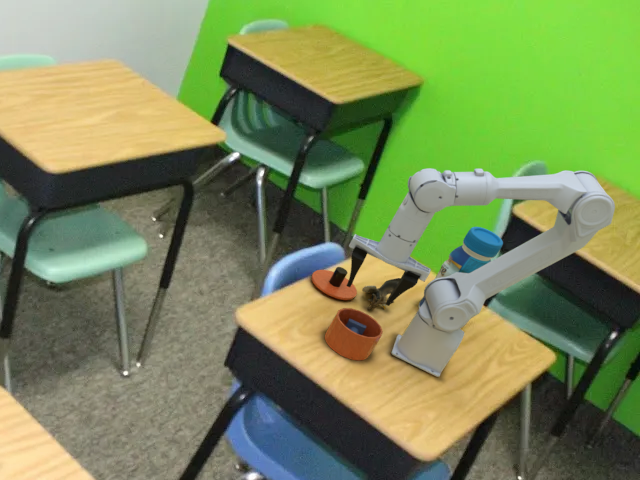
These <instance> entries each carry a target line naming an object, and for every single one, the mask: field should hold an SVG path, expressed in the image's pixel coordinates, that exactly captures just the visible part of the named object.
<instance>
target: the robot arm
mask: <svg viewBox="0 0 640 480" xmlns="http://www.w3.org/2000/svg"><path fill="white" fill-rule="evenodd" d="M407 189H408V191H407V193H406V195H405V196H404V198H403V199H402V202H401V204H400V205H399V207H398V208H397V210H396V212H395V214H394V216H393V217H392V219H391V220H390V222H389V224H388V227H387V228H386V230H385V232H384V233H383V235H382V237H381V238H380V240H379V241H377V240H373V239H370V238H367V237H363V236H360V235H358V234H356V233H355V234H354V235H353V237H352V239H351V240H350V243H349V244H348V247H349V248H350V249H352V252H351V258H350V259H351V262H350V263H351V264H350V274H349V278H348V280H349V281H348V283H347V286H348V287H351V285H352V284H354V283H353V282H354V280H355V278H356V276H357V274H358V273H359V271H360V269H361V267H362V266H363V264H364V262H365V259H366V258H367V256H368V255H369V256H372V257H374V258H375V259H378V260H380V261H382V262H384V263H385V264H388V265H389V266H390V265H391V266H393V267H395V268H397V269H399V270H402V271H404V272H403V273H402V276H401V277H400V278H401V279H400V281H399V282H398V284H397V286H396V287H395V289H394V290H393V291H392V293H391V294H389V296H388V298H386V301H385V302H386V306H388V307H390V306H391V305H392V304H393V303H392V302H393V301H394V302H395V300H396V299H398V298H399V297H400V296H401V295H402V294H403V293H405V292H407V291H409V290H410V289H412V288H414V287H415V286H416V285H417V284H418V283H419V281H422V282H426V280H427V279H428V277H429V275H430V274H431V271H432V270H431V268H429V267H428V266H426V265H424V264H422V263H421V262H419V261H417V260H416V259H415V258H413V257H411V255H412V253H413V251H414V250H415V248H416V246H417V244H418V243H419V241H420V239H421V238H422V236H423V234H424V233H425V231H426V229H427V228H428V226H429V224H430V223H431V221H432V219H433V217H434V215H435V214H436V213H438V212H440V211H442V210H444V209H445V208H447V207H456V206H457V207H462V206H463V207H464V206H465V207H466V206H467V207H468V206H469V207H472V206H479V207H480V206H488V205H490V204H491V203H492V202H493V201H495V200H496V199H498V200H499V199H500V200H501V199H502V200H523V201H524V200H526V201H545V202H547V203H549V204H550V205H551V206H552V207H554V208H556V209H557V213H556V218H555V221H554V225H553V226H552V227H551V228H549V229H547V230H546V231H544V232H542V233H540V234H538V235H537V236H535V237H532V238H530V239H528V240H527V241H525V242H524V243H522V244H520V245H518V246H517V247H515V248H512V249H510V250H508V251H507V252H505V253H504V254H502V255H500V256H498V257H497V258H495V259H494V258H493V260H491V262H489V263H487V264H485V265H484V266H482V267H480V268H478V269H476V270H475V271H473V272H471V273H461V272H456V273H454V274H452V275H450V276H447V277H441V278H437V279H435V278H433V279H432V280H431V281H430V282H428V283H427V284H426V285H425V287H424V289H423V296H424V297H425V301H424V303H423V304H422V306H421V307H420V308H419V307H418V309H417V311H416V312H415V314H414V316H413V318H412V319H411V321H410V322H409V324H408V325H407V327H406V329H405V331H404V332H403V334H397V335H396V338H395V341H394V343H393V347H392V350H391V355H392V356H394V357H396V358H397V359H400V360H402V361H404V362H406V363H408V364H409V365H412V366H414V367H416V368H418V369H420V370H422V371H424V372H426V373H428V374H430V375H432V376H434V377H436V378H440V376H441V374H442V372H443V370H444V369H445V367H446V366H447V365H448V364H449V362H450V360H451V359H452V357H453V356H454V355H455V353H456V351H457V350H458V348H459V346H460V345H461V343H462V341H463V339H464V336H465V331H464V330H463V329H462V328H464V327H465V326H466V325H467V324H468V322H469V321H470V320H471V319H472V318H474V317H477V315H479V314H480V313H481V311H482V309H483V306H484V305H485V302H486V300H488V299H489V298H492V297H493V296H495V295H497V294H499V293H500V292H502V291H504V290H507V289H508V288H510V287H512V286H514V285H516V284H517V283H519V282H522V281H524V280H525V279H527V278H529V277H531V276H532V275H534V274H536V273H538V272H540V271H542V270H544V269H545V268H547V267H550V266H552V265H553V264H555V263H557V262H559V261H561V260H562V259H564V258H566V257H568V256H571V255H572V254H574V253H576V252H577V251H580V250H582V249H583V248H584V247H585V246H587V245H588V243H590V242H591V240H592V239H593V238H594V236H596V234H597V233H598V232H599V231H601V230H602V229H604V228H606V227H609V226H610V225H611V224H612V222H613V218H614V214H615V210H616V205H615V201H614V200H613V198H612V197H611V195H609V194H608V193H607V192H606V190H605V189H604V188H603V187H602V186H601V184H600V183H599V181H598V179H597V177H596V175H594V174H593V173H592V172H590V171H587V170H575V171H573V170H568V169H567V170H566V169H565V170H562V171H559V172H557V173H552V174H551V173H550V174H536V175H535V174H534V175H523V176H522V175H521V176H507V177H495V176H494V175H493V174H492V173H491V172H490V171H484V169H483V168H474V169H473V171H451V170H450V169H445V170H443V172H441V171H440V170H437V169H436V168H432V167H431V168H430V167H429V168H423V169H421V170H417V172H415V173H414V174H413V175H410V176H409V178H408V180H407ZM391 303H392V304H391Z"/></svg>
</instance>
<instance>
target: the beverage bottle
mask: <svg viewBox="0 0 640 480" xmlns="http://www.w3.org/2000/svg"><path fill="white" fill-rule="evenodd" d="M503 245H504V241H503V240H502V238H501V237H500V236H499V235H498V234H496V233H495V232H493V231H491V230H489V229H487V228H486V227H485V228H484V227H481V226H472V227H471V228H470V229H469V230H468V231H467V233H466V235H465V236H464V238H463V240H462V245H458V247H456V248H454V249H453V250H451V251H450V253H449V255H448V259H446V260H445V261H443V263H442V264H441V265H440V269H439V271H438V272H437V273H436V276H434V279H437V278H441V277H447V276H450V275H452V274H454V273H456V272H461V273H471V272H473V271H475V270H476V269H478V268H480V267H482V266H484V265H485V264H487V263H489V262H491V261H492V260H491V259H494V258H495V257H496V256H497V255H498V253H499V252H500V251H501V249H502V247H503ZM424 301H425V297H424V295H423V297H422V298H421V299H420V301H419V302H418V309H419V308H420V307H421V306H422V304H423V303H424Z"/></svg>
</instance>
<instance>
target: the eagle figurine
mask: <svg viewBox="0 0 640 480" xmlns="http://www.w3.org/2000/svg"><path fill="white" fill-rule="evenodd" d="M400 279H401V277H396V278H391V279H389V280H386V281H384V283H383V284H382V285H381V286H380V287H378V288H377V286H376V285H365V286H363V287H362V289H361V291H362V292H363V293H369V294H370V296H371V297H370V298H368V299H367V301H368V302H370V305H369V306H368V307H367V310H368V311H369V310H371V309H374V308H376V307H377V306H381V307H382V308H383V310H384V311H385V310H386V307H387V305H386V302H387V301H386V299H387V295H390V294H391V293H392V291H393V290H394V289H395V287H396V286H397V284H398V282H399V281H400ZM394 303H395V300H394V301H393V302H392V303H391V304H390V305H392V304H394Z"/></svg>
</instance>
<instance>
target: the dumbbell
mask: <svg viewBox="0 0 640 480" xmlns="http://www.w3.org/2000/svg"><path fill="white" fill-rule="evenodd" d="M345 326H346V327H347V328H349V329H350V330H351V331H353V332H355V333H357V334H359V335H362V334H363V332H364V331H365V329H366V326H365V325H363V324H361V323H359V322H356V321H354V320H352V319H350V318H349V320H348V322H347V323H346V325H345Z"/></svg>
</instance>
